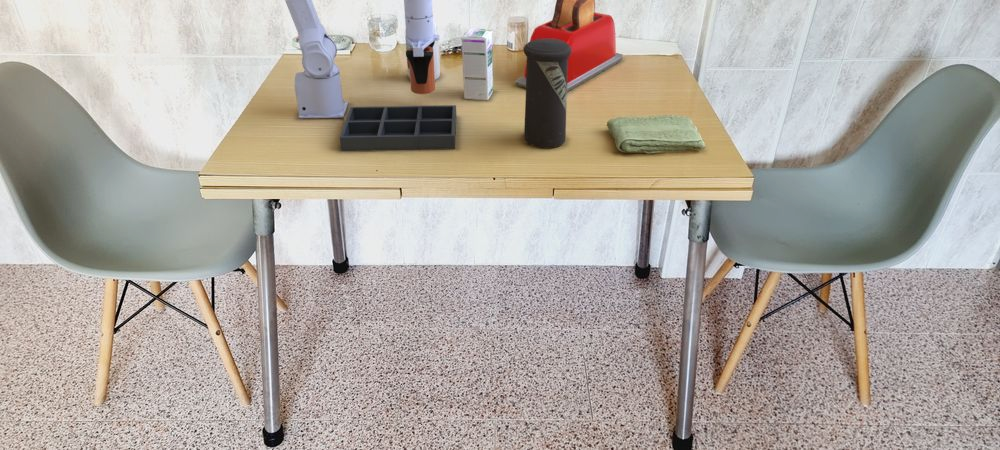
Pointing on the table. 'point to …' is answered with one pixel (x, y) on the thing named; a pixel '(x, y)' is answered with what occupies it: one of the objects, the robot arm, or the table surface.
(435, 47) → the milk bottle
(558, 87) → the container
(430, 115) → the tray
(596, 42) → the toaster
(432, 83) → the jar
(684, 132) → the washcloth
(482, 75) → the syrup box
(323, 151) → the table surface
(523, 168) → the table surface
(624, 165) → the table surface
